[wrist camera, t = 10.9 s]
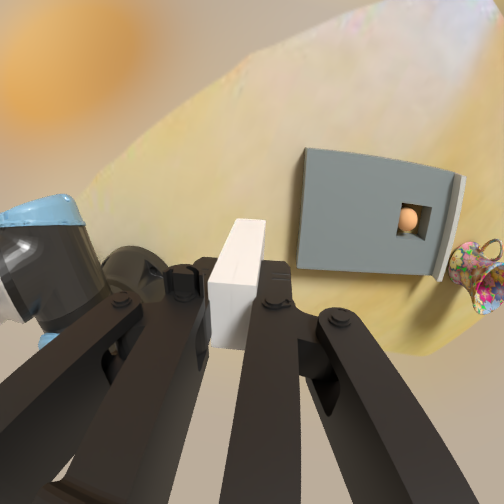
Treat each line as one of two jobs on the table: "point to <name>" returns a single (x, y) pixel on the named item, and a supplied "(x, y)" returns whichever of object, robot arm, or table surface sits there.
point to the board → (375, 214)
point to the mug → (479, 275)
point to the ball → (407, 219)
